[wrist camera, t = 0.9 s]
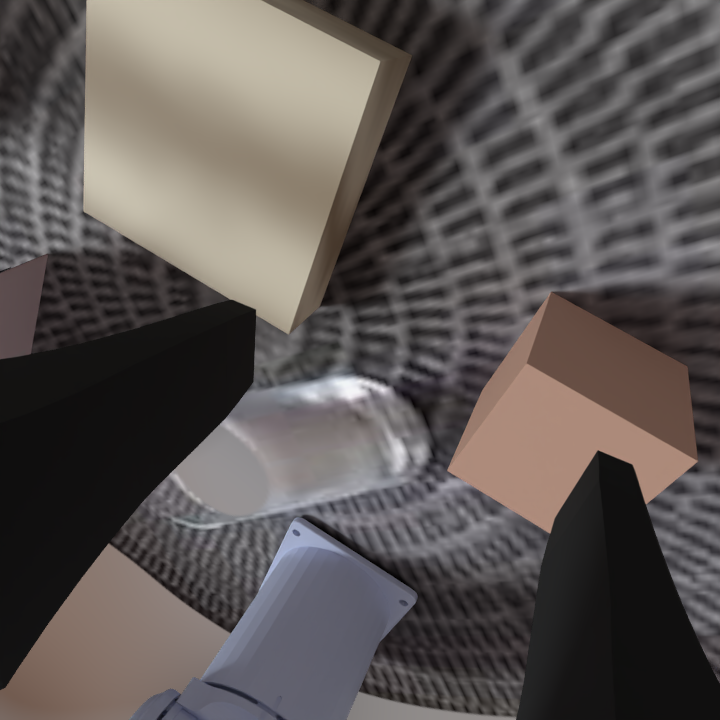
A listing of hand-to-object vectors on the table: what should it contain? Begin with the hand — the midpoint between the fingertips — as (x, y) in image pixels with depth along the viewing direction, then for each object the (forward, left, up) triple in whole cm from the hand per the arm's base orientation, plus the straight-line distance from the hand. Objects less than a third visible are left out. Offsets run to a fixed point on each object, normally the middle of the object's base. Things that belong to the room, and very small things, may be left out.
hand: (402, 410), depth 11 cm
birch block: (-1, +10, -10) cm, 15 cm away
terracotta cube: (-3, -5, -10) cm, 11 cm away
